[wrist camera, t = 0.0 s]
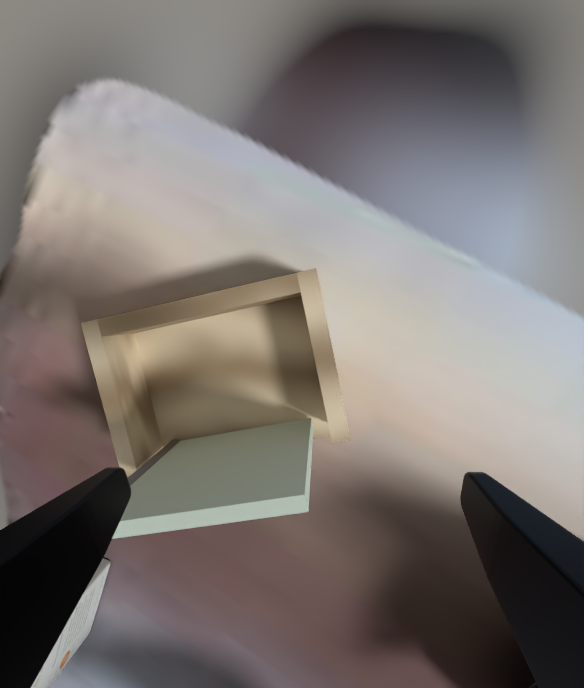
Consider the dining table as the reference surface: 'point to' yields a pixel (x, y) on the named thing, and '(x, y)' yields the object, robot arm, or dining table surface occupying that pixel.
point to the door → (222, 480)
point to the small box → (74, 629)
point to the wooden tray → (217, 366)
